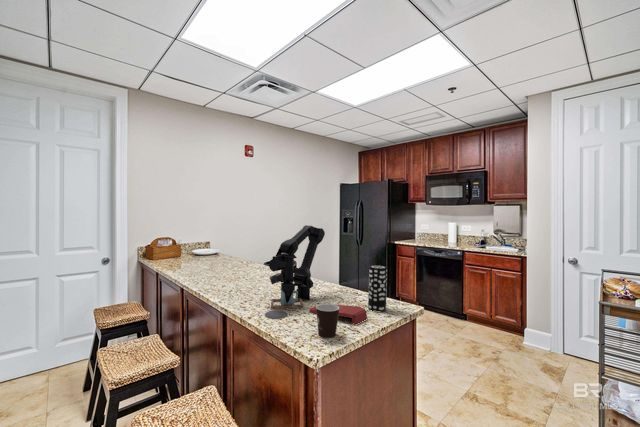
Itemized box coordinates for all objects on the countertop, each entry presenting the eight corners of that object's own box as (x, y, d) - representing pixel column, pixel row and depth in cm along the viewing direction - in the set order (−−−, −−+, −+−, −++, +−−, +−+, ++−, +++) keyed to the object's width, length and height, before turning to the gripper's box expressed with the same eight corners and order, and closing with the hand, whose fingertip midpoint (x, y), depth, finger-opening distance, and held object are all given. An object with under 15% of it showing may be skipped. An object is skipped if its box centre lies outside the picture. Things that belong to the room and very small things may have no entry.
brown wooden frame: (301, 300, 151) (301, 298, 151) (303, 308, 139) (303, 305, 139) (271, 301, 148) (271, 298, 148) (270, 309, 136) (271, 306, 136)
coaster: (287, 310, 135) (287, 310, 135) (288, 318, 125) (288, 317, 125) (265, 311, 133) (265, 310, 133) (264, 319, 123) (264, 318, 123)
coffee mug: (336, 340, 104) (337, 312, 104) (313, 337, 106) (313, 310, 106) (341, 328, 116) (341, 302, 116) (319, 325, 117) (320, 300, 117)
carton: (308, 320, 134) (354, 326, 118) (307, 309, 135) (352, 313, 119) (325, 313, 143) (369, 318, 127) (324, 303, 144) (368, 307, 128)
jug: (297, 302, 147) (297, 286, 147) (298, 306, 141) (298, 289, 141) (280, 302, 146) (280, 286, 146) (280, 306, 140) (281, 289, 140)
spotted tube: (387, 308, 142) (388, 266, 142) (383, 313, 134) (384, 269, 134) (370, 305, 145) (371, 264, 145) (366, 310, 138) (367, 267, 138)
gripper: (271, 264, 152) (270, 295, 152) (270, 272, 133) (269, 307, 133) (293, 264, 153) (292, 295, 153) (295, 272, 135) (294, 306, 135)
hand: (286, 300), depth 144 cm, fingers closed on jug, 6 cm apart
